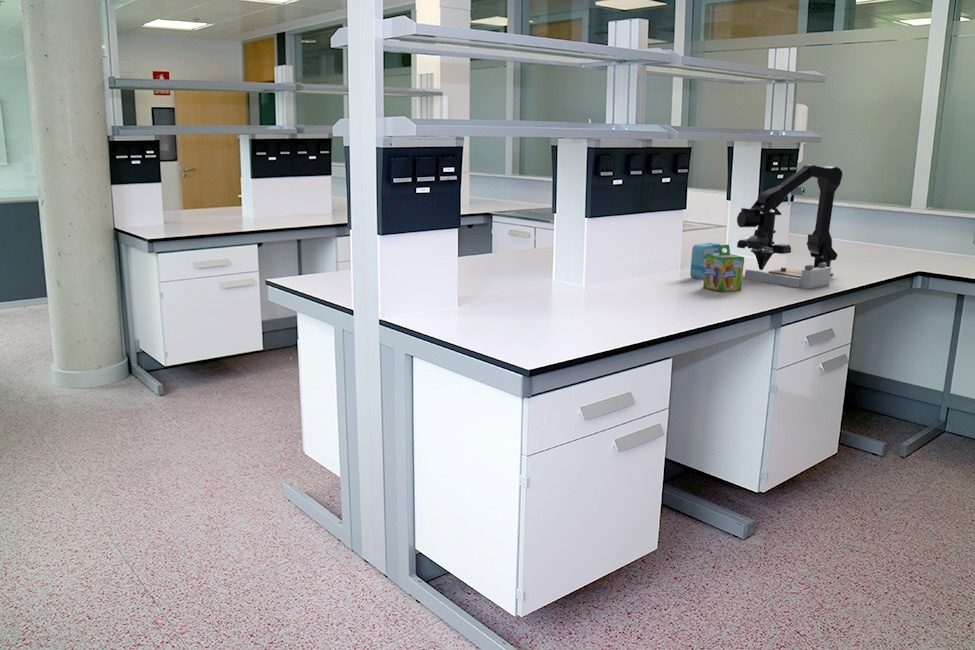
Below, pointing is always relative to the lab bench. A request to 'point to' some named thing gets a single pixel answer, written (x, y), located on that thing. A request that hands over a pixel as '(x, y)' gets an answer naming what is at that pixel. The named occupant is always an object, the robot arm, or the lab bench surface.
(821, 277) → the block
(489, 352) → the lab bench surface
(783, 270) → the door panel
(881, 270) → the lab bench surface
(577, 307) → the lab bench surface
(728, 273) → the chalk box
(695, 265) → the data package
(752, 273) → the guide rail
